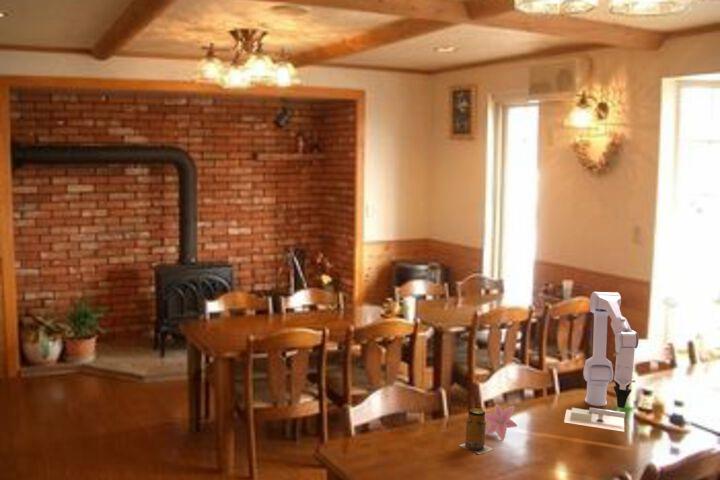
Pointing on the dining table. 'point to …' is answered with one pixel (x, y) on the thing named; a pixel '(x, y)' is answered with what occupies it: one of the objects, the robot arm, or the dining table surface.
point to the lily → (500, 421)
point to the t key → (606, 413)
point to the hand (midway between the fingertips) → (620, 403)
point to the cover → (581, 414)
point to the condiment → (476, 432)
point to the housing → (598, 422)
